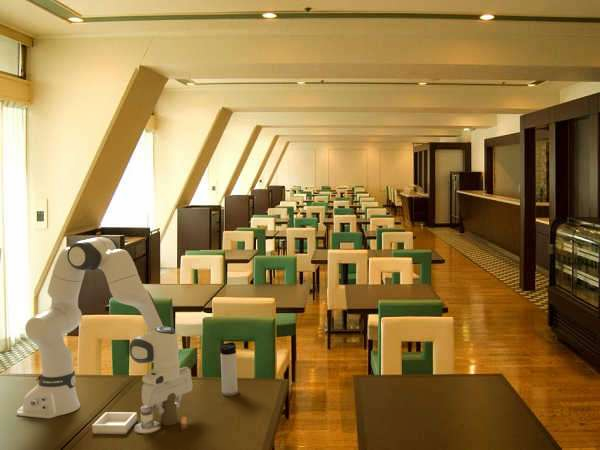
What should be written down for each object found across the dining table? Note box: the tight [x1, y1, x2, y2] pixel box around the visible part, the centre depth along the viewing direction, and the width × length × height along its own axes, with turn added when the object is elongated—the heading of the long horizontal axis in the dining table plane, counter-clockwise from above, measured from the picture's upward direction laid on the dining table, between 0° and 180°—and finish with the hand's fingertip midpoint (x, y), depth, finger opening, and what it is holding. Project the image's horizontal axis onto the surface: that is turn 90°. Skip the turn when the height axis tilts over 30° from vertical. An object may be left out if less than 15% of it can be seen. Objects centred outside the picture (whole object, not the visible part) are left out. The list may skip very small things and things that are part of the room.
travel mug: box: [219, 341, 239, 397], centre depth 254 cm, size 6×7×20 cm
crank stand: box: [133, 411, 188, 435], centre depth 221 cm, size 18×9×5 cm, turn 84°
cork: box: [160, 393, 179, 426], centre depth 227 cm, size 6×6×11 cm
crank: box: [140, 404, 156, 415], centre depth 226 cm, size 14×4×7 cm, turn 174°
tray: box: [91, 411, 138, 435], centre depth 224 cm, size 12×12×3 cm
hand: (168, 410), depth 227 cm, fingers open, 5 cm apart
